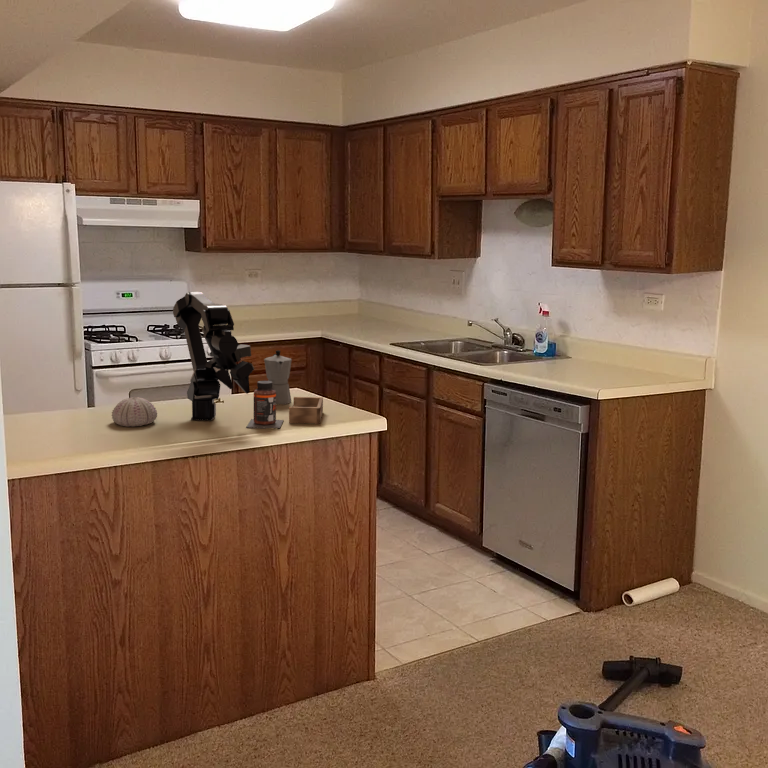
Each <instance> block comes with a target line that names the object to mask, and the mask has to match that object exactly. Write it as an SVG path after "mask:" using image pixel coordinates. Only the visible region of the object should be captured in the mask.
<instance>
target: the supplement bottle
mask: <svg viewBox="0 0 768 768" xmlns="http://www.w3.org/2000/svg"><path fill="white" fill-rule="evenodd" d="M256 384H257V385H256V386H257V388H256V389H255V390H253V419H254V423H255V424H258V425H271V424H274V423H275V422H276V420H277V405H276V391H275V390H274V389H273V388H272V386H273V385H272V382H271V381H268V380H259V381H257V383H256Z"/></svg>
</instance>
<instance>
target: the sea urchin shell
mask: <svg viewBox="0 0 768 768" xmlns="http://www.w3.org/2000/svg"><path fill="white" fill-rule="evenodd" d="M157 418H158V411H157V409H156V407H155V405H154V404H153V403H152V402H150V401H149V400H148V399H146V398H143V397H138V396H132V397H126V398H124V399H122V400H121V401H119V402H118V403H117V404H116V405H115V406H114V407H113V410H112V412H111V419H112V421H113V422H115V424H117V425H118V426H121V427H128V428H129V427H141V426H146V425H149V424H152V423H154V422H155V421H156V420H157Z"/></svg>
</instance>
